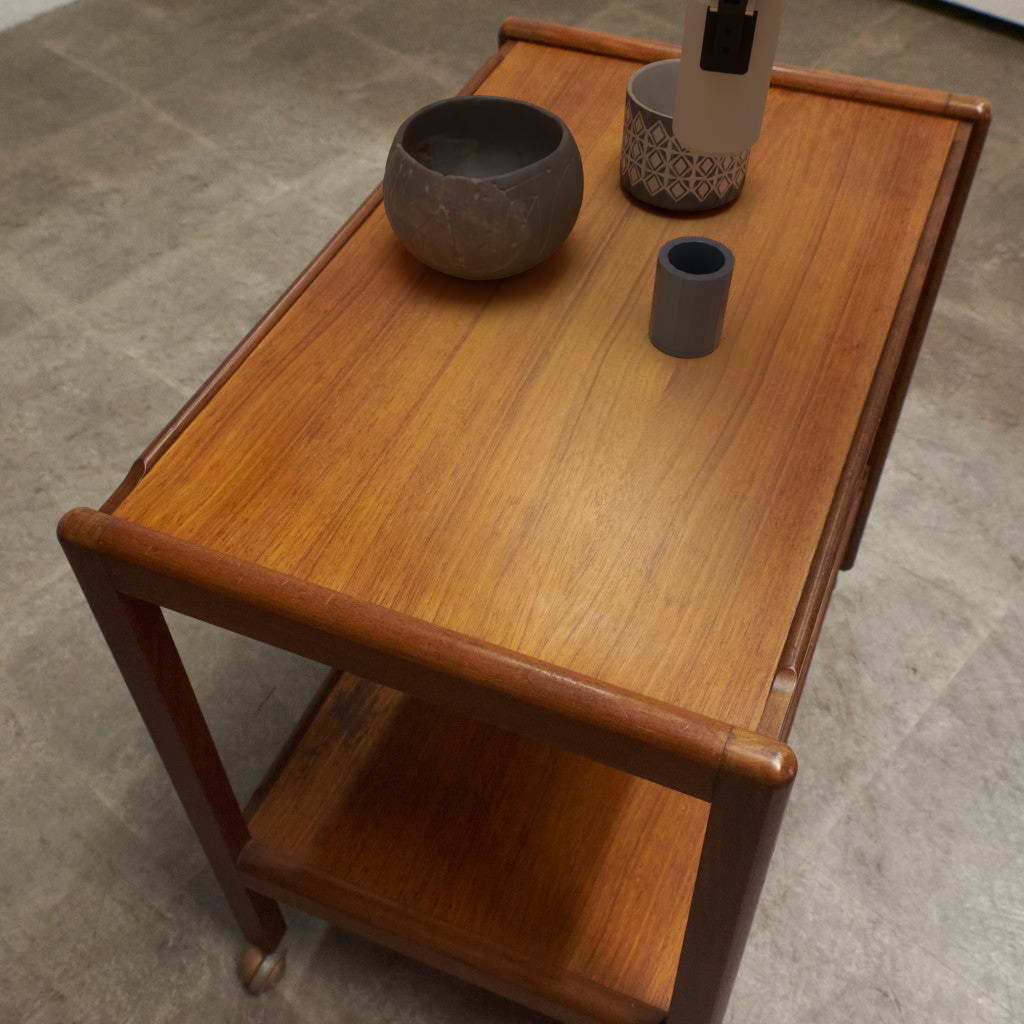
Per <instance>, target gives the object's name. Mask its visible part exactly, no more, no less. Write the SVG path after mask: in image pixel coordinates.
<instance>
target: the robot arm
mask: <svg viewBox="0 0 1024 1024" xmlns="http://www.w3.org/2000/svg"><path fill="white" fill-rule="evenodd" d="M755 3H756V0H711V5H710V6H708V8H707V13H706V21H705V28H704V36H703V43H702V50H701V58H700V68H701V69H702V70H704V71H711V72H719V73H728V74H736V75H744V74H746V73H747V72H748V68H749V63H750V57H751V51H752V45H753V39H754V34H755V28H756V22H757V16H758V11H754V9H755Z"/></svg>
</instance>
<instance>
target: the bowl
mask: <svg viewBox="0 0 1024 1024" xmlns="http://www.w3.org/2000/svg"><path fill="white" fill-rule="evenodd" d="M584 190H585V175H584V166H583V160H582V156H581V153H580V150H579V147H578V144H577V142H576V140H575V137H574V135H573V133H572V131H571V129H570V128H569V127H568V125H567V124H566V123H565V121H564V120H563V119H562V118H561V117H559V116H558V115H557V114H555V113H553V112H551V111H550V110H548V109H546V108H544V107H542V106H539V105H537V104H534V103H532V102H528V101H525V100H522V99H516V98H510V97H505V96H498V95H487V94H486V95H485V94H469V95H460V96H454V97H448V98H444V99H440V100H437V101H434V102H431V103H428V104H427V105H425V106H423V107H421V108H419V109H417V110H416V111H415V112H413V113H412V114H411V115H409V117H407V118H406V119H405V120H404V121H403V122H402V123H401V124H400V126H399V127H398V129H397V130H396V132H395V135H394V137H393V140H392V142H391V144H390V148H389V150H388V154H387V158H386V162H385V167H384V173H383V181H382V200H383V207H384V211H385V214H386V218H387V220H388V224H389V226H390V227H391V230H392V232H393V233H394V235H395V236H396V238H397V239H398V240H399V242H400V243H401V244H402V245H403V246H404V248H405V249H406V250H407V251H408V252H409V253H410V254H411V255H413V257H415V258H416V259H417V260H419V261H420V262H421V263H423V264H424V265H425V266H428V267H429V268H430V269H433V270H435V271H436V272H439V273H442V274H445V275H447V276H451V277H455V278H458V279H465V280H470V281H489V280H498V279H504V278H509V277H512V276H515V275H518V274H520V273H523V272H527V271H528V270H530V269H533V268H534V267H537V266H539V265H540V264H542V263H543V262H544V261H546V260H547V259H548V258H550V257H551V256H552V255H553V254H554V253H555V252H556V251H557V250H559V248H560V247H561V246H562V245H563V244H564V243H565V242H566V240H568V237H570V234H571V233H572V232H573V229H574V227H575V225H576V223H577V221H578V218H579V215H580V212H581V210H582V209H581V208H582V205H583V199H584V192H585V191H584Z"/></svg>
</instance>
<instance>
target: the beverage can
mask: <svg viewBox="0 0 1024 1024" xmlns="http://www.w3.org/2000/svg"><path fill="white" fill-rule="evenodd" d="M686 4H687V5H686V11H685V18H684V19H685V20H684V26H683V27H684V29H683V35H682V42H681V43H682V44H681V50H680V58H681V59H680V67H679V75H678V83H677V91H676V99H675V107H674V115H673V123H672V130H673V134H674V136H675V137H676V139H677V140H678V141H679V142H680V143H681V144H682V146H683V147H684V148H685V149H687V150H688V151H690V152H692V153H694V154H697V155H700V156H705V157H713V158H723V157H730V156H734V155H737V154H739V153H741V152H743V151H744V150H747V149H749V148H750V147H751V148H752V147H753V146H755V145H756V144H757V142H758V141H759V139H760V136H761V132H762V126H763V120H764V116H765V110H766V105H767V100H768V94H769V89H770V83H771V79H772V73H773V70H774V69H773V68H774V63H775V58H776V52H777V47H778V41H779V37H780V32H781V25H782V20H783V15H784V10H785V6H786V5H785V4H786V0H756V3H755V9H754V11H758V16H757V22H756V28H755V34H754V39H753V45H752V51H751V57H750V63H749V68H748V72H747V73H746V74H744V75H736V74H728V73H719V72H711V71H704V70H702V69H701V68H700V58H701V50H702V43H703V36H704V28H705V21H706V13H707V8H708V6H710V5H711V0H687V3H686Z"/></svg>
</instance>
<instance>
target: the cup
mask: <svg viewBox="0 0 1024 1024" xmlns="http://www.w3.org/2000/svg"><path fill="white" fill-rule="evenodd" d="M735 263H736V258H735V255H734V254H733V251H732V250H731V249H730V248H729V247H727V245H725V244H723V243H722V242H720V241H717V240H716V239H715V240H714V239H712V238H709V237H704V236H697V235H691V236H681V237H680V236H678V237H676V238H672V239H670V240H668V241H666V242H665V243H664V244H663V245H662V246H660V247H659V249H658V254H657V258H656V265H655V266H656V267H655V275H654V283H653V290H652V298H651V306H650V307H651V308H650V314H649V315H650V316H649V323H648V324H649V325H648V336H649V340H650V342H651V343H652V345H653V346H654V347H655V348H656V349H658V350H659V351H661V352H662V353H665V354H666V355H669V356H672V357H675V358H682V359H696V358H700V357H701V358H702V357H704V356H707V355H709V354H711V353H713V352H714V351H715V350H716V349H717V348H718V347H719V345H720V343H721V339H722V333H723V329H724V323H725V319H726V318H725V317H726V312H727V306H728V301H729V296H730V290H731V285H732V280H733V274H734V270H735V265H736V264H735Z"/></svg>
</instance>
